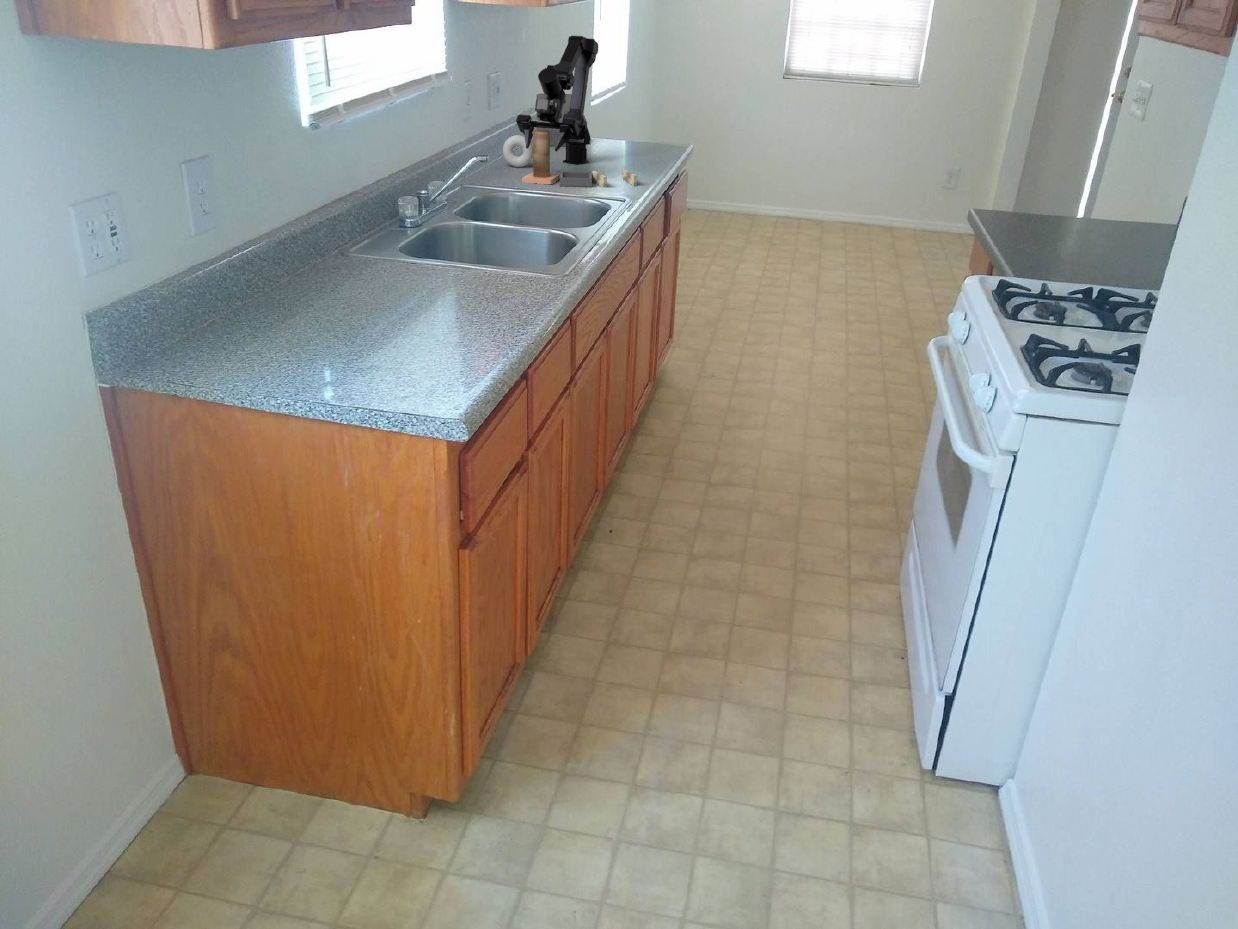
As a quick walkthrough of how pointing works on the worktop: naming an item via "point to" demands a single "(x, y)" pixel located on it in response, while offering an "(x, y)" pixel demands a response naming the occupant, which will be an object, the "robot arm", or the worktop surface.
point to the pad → (540, 179)
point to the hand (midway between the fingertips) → (541, 149)
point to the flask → (565, 109)
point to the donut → (509, 154)
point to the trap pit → (576, 179)
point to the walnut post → (541, 153)
